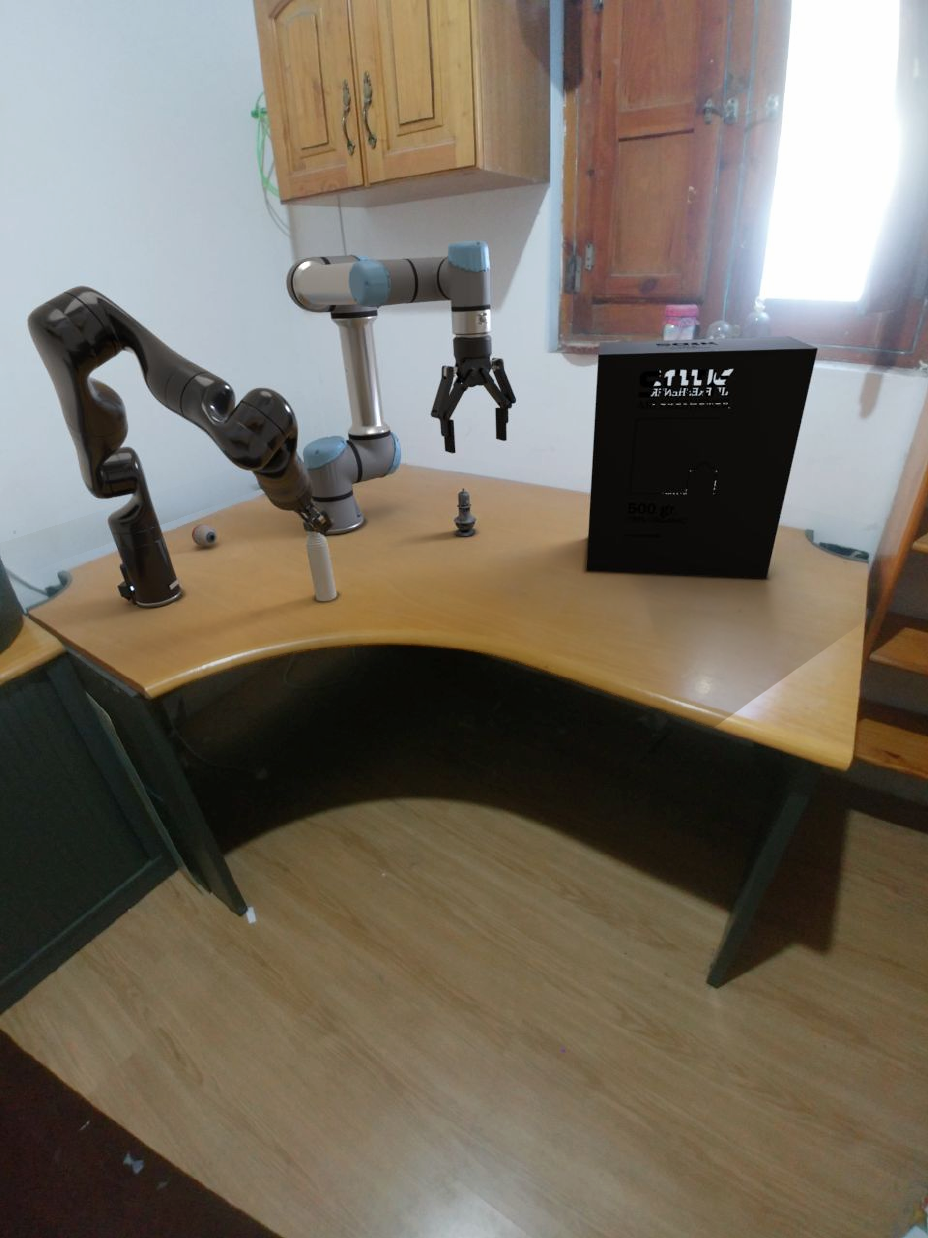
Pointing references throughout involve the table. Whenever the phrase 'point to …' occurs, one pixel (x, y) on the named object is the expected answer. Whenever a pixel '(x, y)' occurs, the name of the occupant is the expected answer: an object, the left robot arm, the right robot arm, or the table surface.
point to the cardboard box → (694, 454)
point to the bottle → (320, 566)
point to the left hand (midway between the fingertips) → (303, 512)
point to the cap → (308, 526)
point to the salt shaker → (464, 515)
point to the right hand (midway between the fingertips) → (476, 445)
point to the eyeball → (204, 535)
